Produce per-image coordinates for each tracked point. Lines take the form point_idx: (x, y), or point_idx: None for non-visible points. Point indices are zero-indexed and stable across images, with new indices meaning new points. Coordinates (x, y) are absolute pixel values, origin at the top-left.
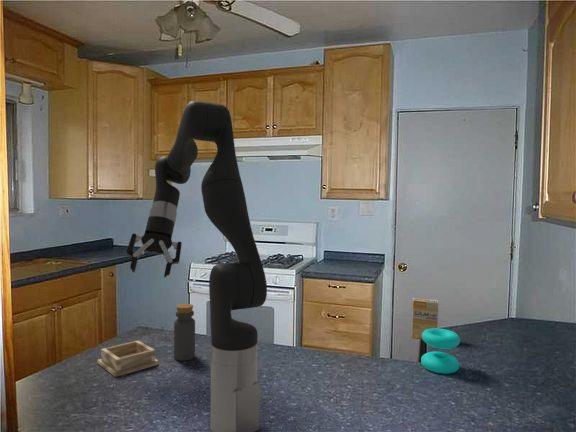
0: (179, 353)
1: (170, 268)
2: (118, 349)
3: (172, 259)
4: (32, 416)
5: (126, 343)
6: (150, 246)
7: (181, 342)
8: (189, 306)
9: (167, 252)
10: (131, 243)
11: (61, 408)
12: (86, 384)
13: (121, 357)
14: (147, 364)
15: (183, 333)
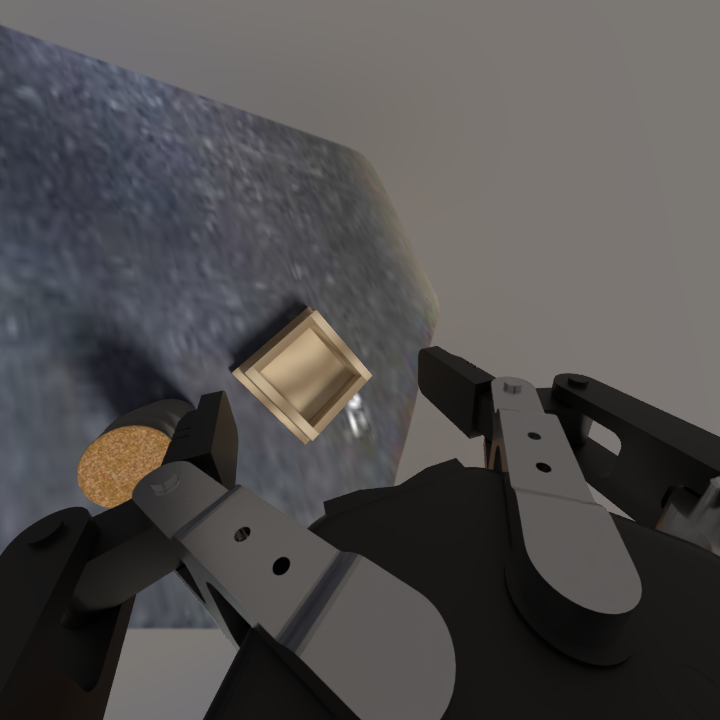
0: (176, 400)
1: (172, 447)
2: (340, 394)
3: (139, 528)
4: (371, 183)
5: (332, 415)
6: (493, 511)
7: (164, 402)
8: (96, 455)
9: (204, 532)
10: (673, 430)
11: (344, 198)
12: (345, 280)
13: (311, 324)
14: (254, 353)
15: (150, 405)
